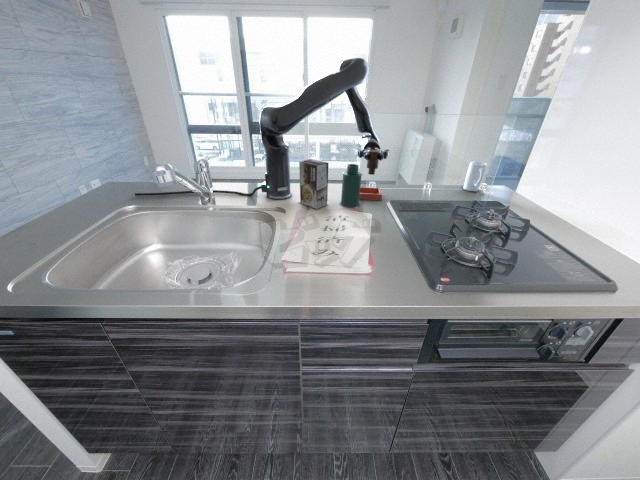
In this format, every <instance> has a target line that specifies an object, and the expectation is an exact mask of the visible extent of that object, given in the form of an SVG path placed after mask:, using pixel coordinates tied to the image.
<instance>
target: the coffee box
mask: <svg viewBox="0 0 640 480" xmlns="http://www.w3.org/2000/svg"><path fill="white" fill-rule="evenodd" d="M298 163H299V166H298V167H299V169H298V171H299V199H300V200H299V201H300V202H299V203H300V204H302V205H305V206H308V207H310V208H313V209H316V210H318V209H320V208H323V207H326V206H328V194H329V193H328V191H329V190H328V188H329V187H328V186H329V162H328V161H323V160H318V159H313V158H309V159H303V160H301V161H299V162H298Z"/></svg>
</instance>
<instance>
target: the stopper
mask: <svg viewBox="0 0 640 480" xmlns="http://www.w3.org/2000/svg"><path fill="white" fill-rule="evenodd" d="M379 156H380V151H379V150H368V160H366V165H365V166H366V169H368V171H367V174H368V175H370V176H371V175H373V176H374V175H375V174H376V170H377V169H379V164H380V160H379Z"/></svg>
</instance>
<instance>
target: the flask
mask: <svg viewBox="0 0 640 480" xmlns="http://www.w3.org/2000/svg"><path fill="white" fill-rule="evenodd" d="M359 166H360V165H358V164H356V163H349V164H347V166H346V167H347V168H346V171H344V172H342V185H341V200H340V205H341V206H342V207H344V208H345V207H346V208H357V207H358V206H359V203H360V199H359V196H360V187H362V186H361V185H362V177H363V175H362V173H361V172H360V171H359Z"/></svg>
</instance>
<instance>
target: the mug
mask: <svg viewBox="0 0 640 480" xmlns="http://www.w3.org/2000/svg"><path fill="white" fill-rule="evenodd" d="M487 167H488V163H487V162H483V161H477V160H476V161H473V160H472V161H470V163H469V166H468V169H467V172H466V176H465V180H464V184H463V187H462V188H463V190H465V191H468V192H478V191H479V189H480V186H481V184H482V181H483V178H484V175H485V173H486V169H487Z"/></svg>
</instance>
